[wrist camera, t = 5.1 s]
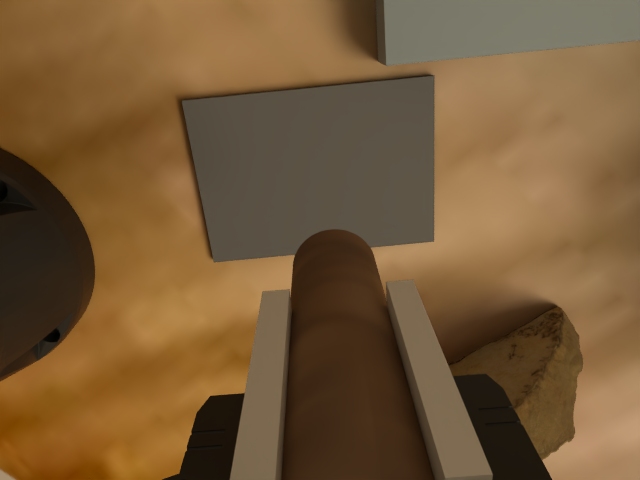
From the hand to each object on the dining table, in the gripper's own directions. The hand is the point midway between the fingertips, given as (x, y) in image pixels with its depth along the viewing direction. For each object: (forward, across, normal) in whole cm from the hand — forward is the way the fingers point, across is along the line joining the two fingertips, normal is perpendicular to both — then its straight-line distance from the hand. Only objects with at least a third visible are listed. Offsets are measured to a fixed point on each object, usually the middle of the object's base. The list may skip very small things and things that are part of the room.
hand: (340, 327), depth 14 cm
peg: (+4, 0, 0) cm, 4 cm away
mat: (+17, 0, 0) cm, 17 cm away
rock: (+17, +12, -15) cm, 25 cm away
